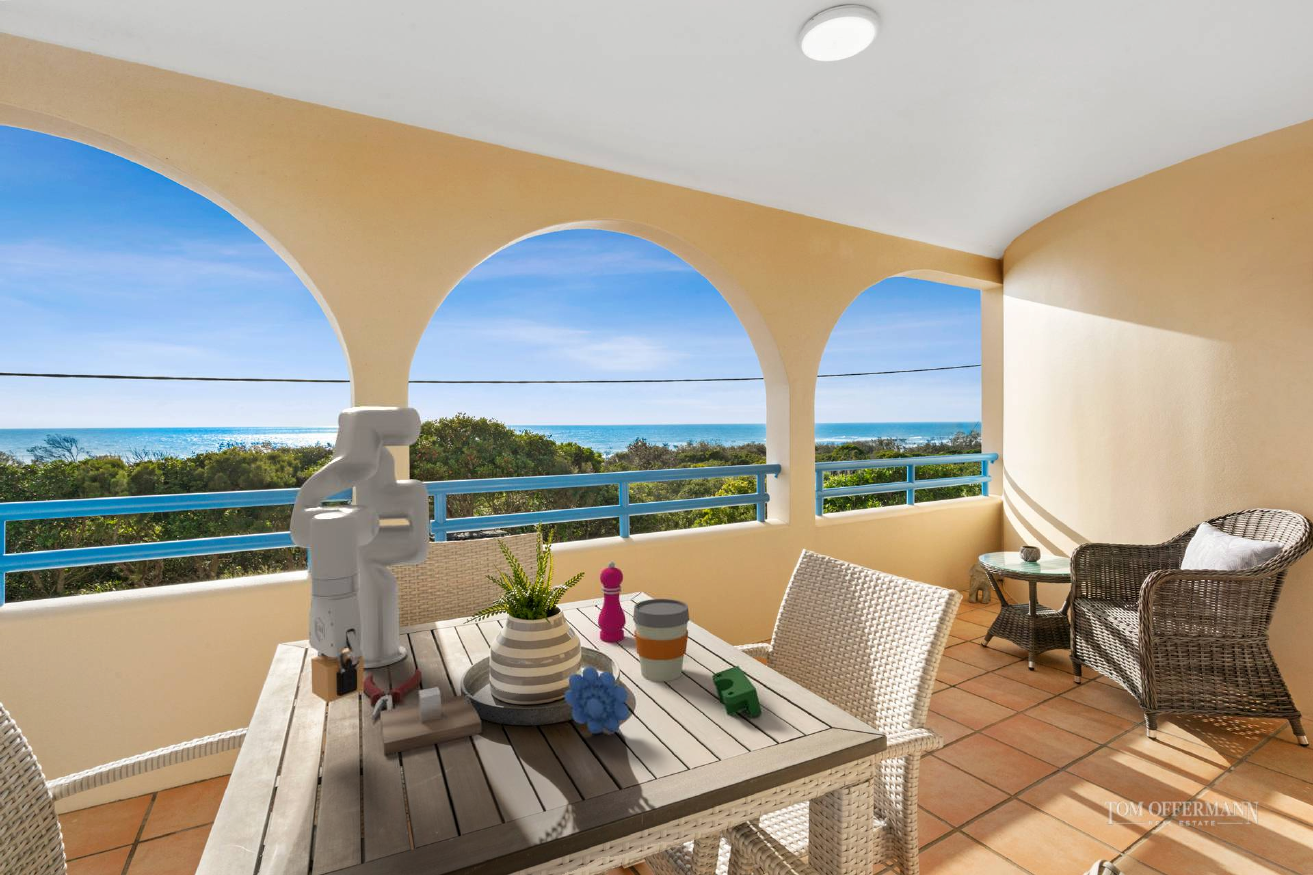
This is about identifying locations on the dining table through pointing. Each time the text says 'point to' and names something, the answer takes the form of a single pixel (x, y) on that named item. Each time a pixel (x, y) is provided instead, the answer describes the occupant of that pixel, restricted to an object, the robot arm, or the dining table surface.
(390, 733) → the board
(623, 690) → the blue knobbed flower
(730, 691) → the clamp
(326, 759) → the dining table surface
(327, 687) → the matte orange cube
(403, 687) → the pliers
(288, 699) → the dining table surface
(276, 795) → the dining table surface
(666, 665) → the reusable coffee cup
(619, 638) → the pepper mill
